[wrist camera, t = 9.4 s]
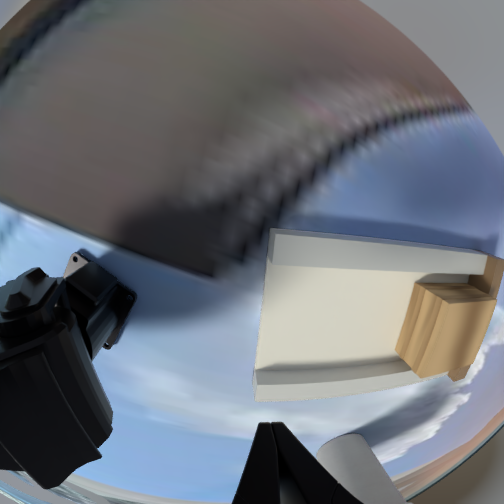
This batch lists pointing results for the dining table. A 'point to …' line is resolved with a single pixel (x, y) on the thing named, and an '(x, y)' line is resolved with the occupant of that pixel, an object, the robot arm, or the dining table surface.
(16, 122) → the dining table surface
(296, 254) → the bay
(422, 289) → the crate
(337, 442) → the coffee cup
